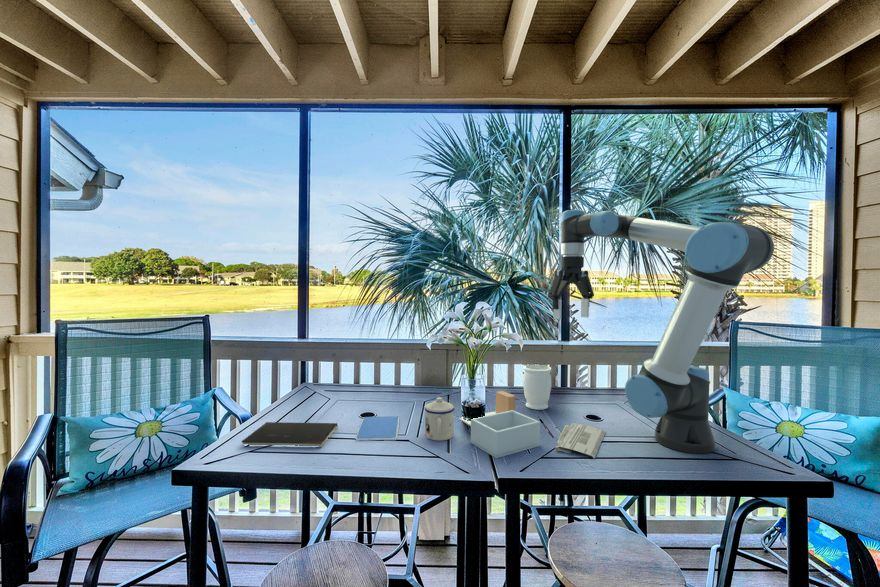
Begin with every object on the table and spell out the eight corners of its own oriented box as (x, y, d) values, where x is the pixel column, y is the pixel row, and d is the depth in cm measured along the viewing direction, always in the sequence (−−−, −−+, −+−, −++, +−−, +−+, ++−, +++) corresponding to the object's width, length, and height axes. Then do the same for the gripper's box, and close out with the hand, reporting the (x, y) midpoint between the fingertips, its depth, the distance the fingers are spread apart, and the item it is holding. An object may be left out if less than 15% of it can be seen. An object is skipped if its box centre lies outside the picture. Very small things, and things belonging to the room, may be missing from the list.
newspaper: (565, 427, 133) (566, 419, 133) (605, 438, 127) (606, 430, 127) (547, 452, 113) (548, 443, 113) (593, 466, 107) (594, 457, 107)
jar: (554, 411, 147) (554, 370, 146) (525, 411, 147) (526, 370, 147) (547, 402, 158) (547, 364, 157) (520, 402, 158) (520, 364, 157)
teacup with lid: (425, 429, 128) (425, 393, 128) (453, 430, 128) (454, 393, 128) (423, 445, 116) (423, 405, 116) (454, 445, 116) (454, 405, 116)
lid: (521, 423, 135) (521, 398, 135) (479, 432, 127) (479, 405, 127) (498, 412, 146) (498, 388, 146) (459, 420, 138) (459, 394, 138)
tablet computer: (396, 442, 120) (396, 437, 120) (354, 442, 120) (354, 438, 119) (399, 419, 140) (399, 415, 139) (363, 420, 139) (363, 416, 139)
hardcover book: (321, 450, 114) (321, 442, 114) (241, 449, 115) (241, 441, 115) (337, 429, 130) (337, 422, 130) (267, 428, 131) (267, 421, 131)
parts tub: (540, 445, 116) (540, 421, 116) (496, 458, 108) (496, 432, 108) (512, 432, 127) (512, 410, 126) (470, 442, 119) (470, 419, 118)
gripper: (587, 257, 148) (586, 315, 148) (537, 255, 135) (536, 318, 136) (605, 256, 141) (604, 317, 142) (554, 254, 128) (553, 320, 129)
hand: (571, 318), depth 139 cm, fingers open, 13 cm apart
